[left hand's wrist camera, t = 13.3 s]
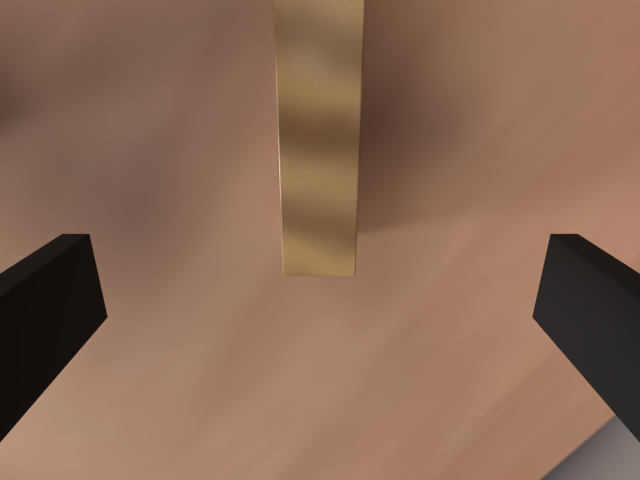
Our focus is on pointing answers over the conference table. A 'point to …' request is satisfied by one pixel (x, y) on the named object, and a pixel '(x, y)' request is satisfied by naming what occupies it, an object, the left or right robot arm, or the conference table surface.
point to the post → (319, 132)
